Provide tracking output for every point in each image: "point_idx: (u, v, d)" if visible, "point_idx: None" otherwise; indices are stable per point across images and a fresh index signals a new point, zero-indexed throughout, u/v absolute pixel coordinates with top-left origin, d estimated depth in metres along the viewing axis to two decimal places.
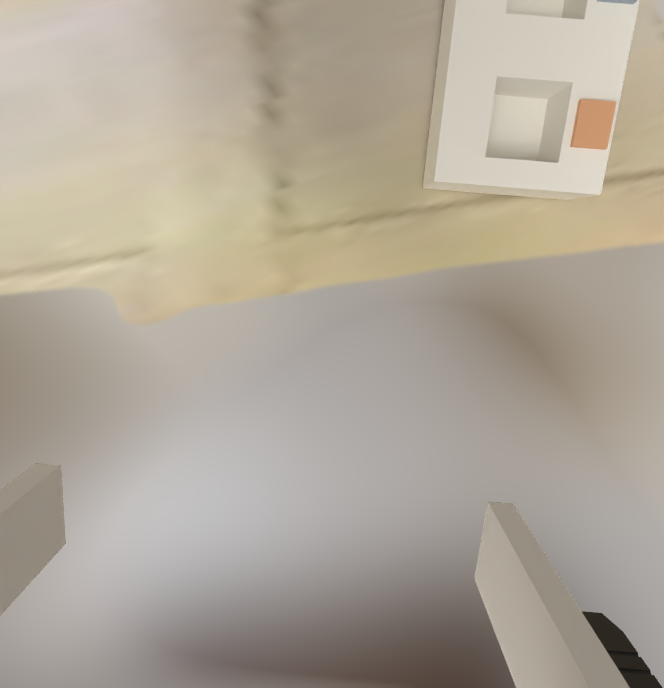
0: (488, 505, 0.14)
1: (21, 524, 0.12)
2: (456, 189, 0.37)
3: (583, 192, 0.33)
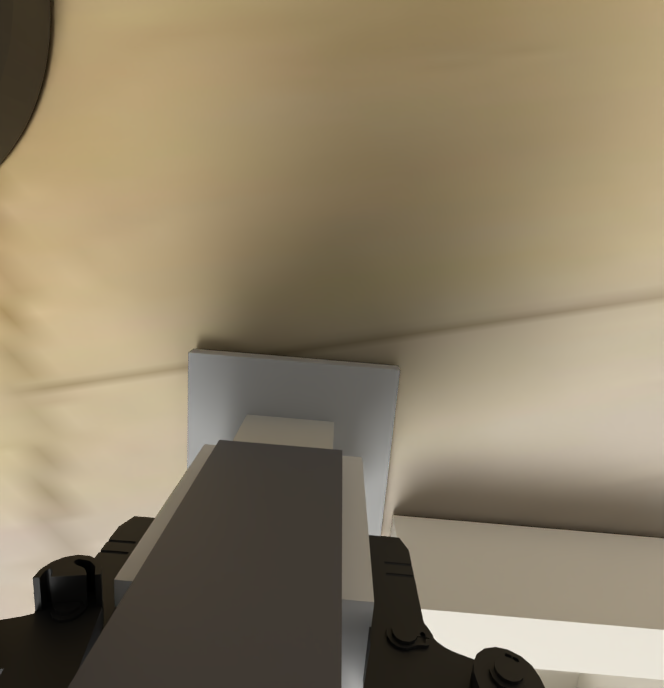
0: None
1: None
2: None
3: None
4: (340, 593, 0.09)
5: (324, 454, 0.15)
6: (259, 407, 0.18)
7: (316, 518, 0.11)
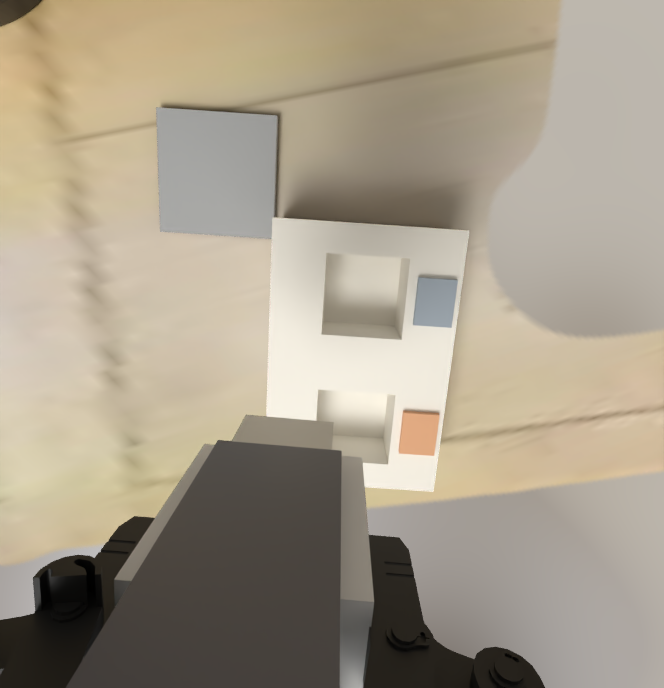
0: None
1: None
2: None
3: (416, 489, 0.33)
4: (339, 594, 0.09)
5: (323, 454, 0.15)
6: (198, 142, 0.31)
7: (315, 518, 0.11)
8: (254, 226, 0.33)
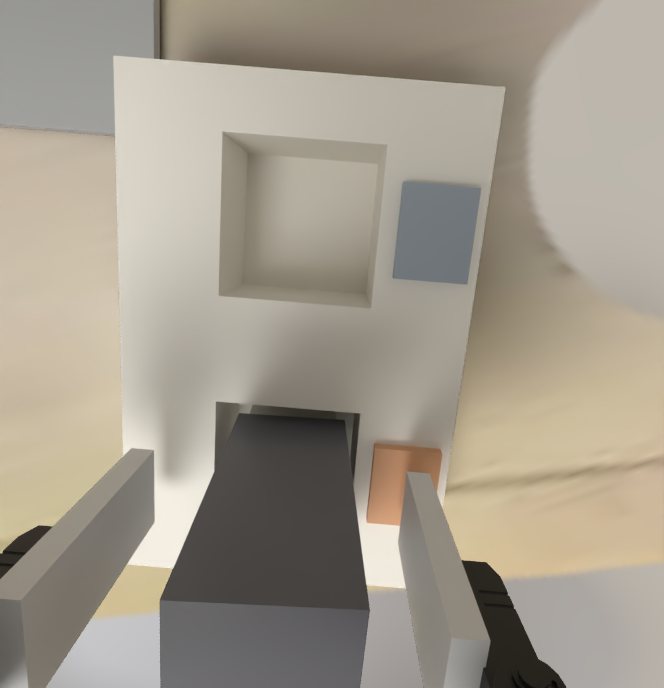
0: (407, 475, 0.15)
1: (129, 501, 0.14)
2: None
3: (398, 585, 0.18)
4: (356, 520, 0.12)
5: (330, 423, 0.17)
6: None
7: (331, 470, 0.14)
8: None
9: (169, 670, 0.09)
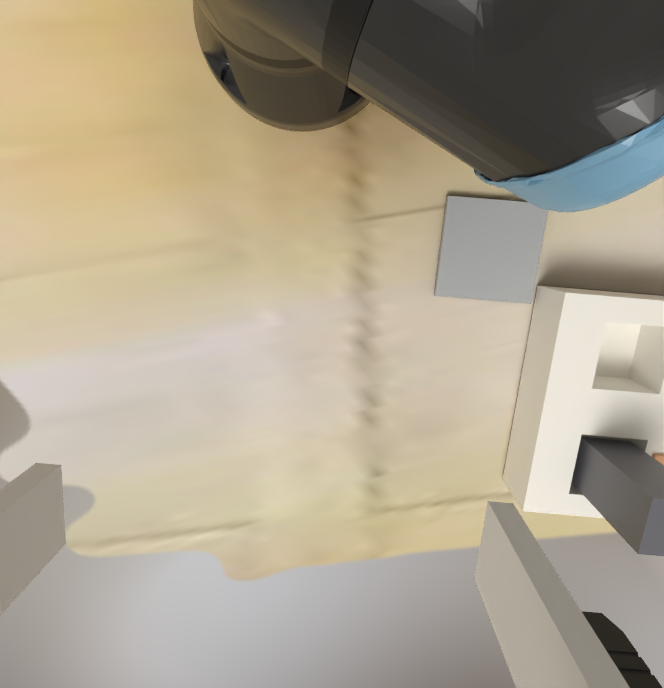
0: (488, 505, 0.14)
1: (21, 524, 0.12)
2: None
3: None
4: None
5: (626, 442, 0.37)
6: (479, 223, 0.37)
7: (652, 462, 0.34)
8: (516, 293, 0.38)
9: (649, 521, 0.29)
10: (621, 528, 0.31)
